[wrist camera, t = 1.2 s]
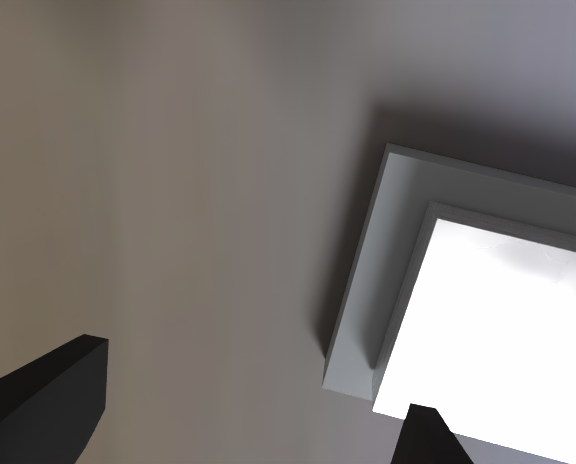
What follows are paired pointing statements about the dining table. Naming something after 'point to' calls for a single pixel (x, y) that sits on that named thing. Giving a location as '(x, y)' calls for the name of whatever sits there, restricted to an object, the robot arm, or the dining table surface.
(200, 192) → the dining table surface
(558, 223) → the grey flat frame
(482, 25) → the dining table surface
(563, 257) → the sliding cover
